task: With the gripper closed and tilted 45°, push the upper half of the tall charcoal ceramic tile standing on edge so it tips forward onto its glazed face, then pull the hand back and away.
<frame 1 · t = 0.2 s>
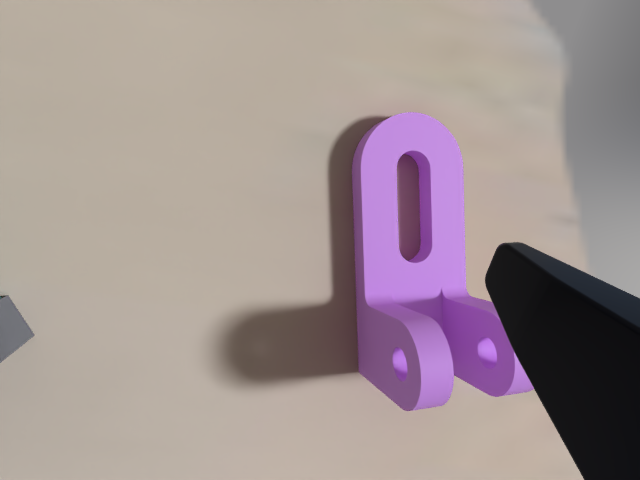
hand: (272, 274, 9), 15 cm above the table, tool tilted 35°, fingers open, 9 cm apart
bracket: (401, 242, 26), on the table
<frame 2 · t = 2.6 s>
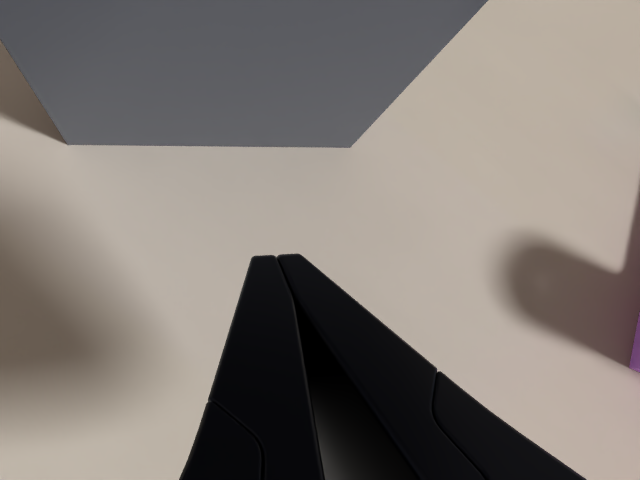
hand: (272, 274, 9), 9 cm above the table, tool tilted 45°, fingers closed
tile: (218, 120, 18), on the table
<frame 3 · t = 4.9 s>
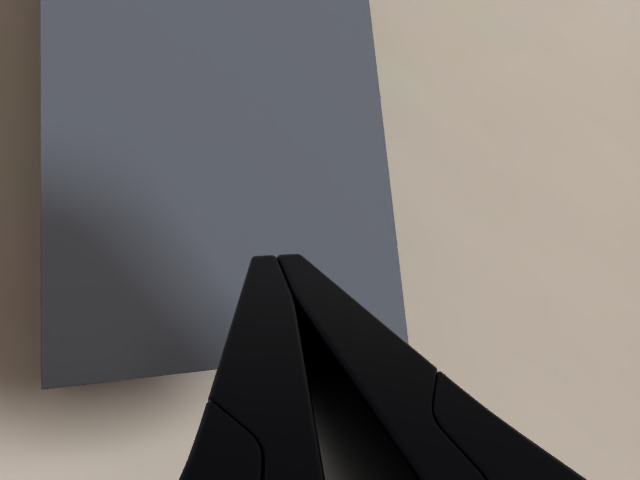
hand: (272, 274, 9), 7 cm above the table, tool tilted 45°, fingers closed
tile: (239, 363, 14), point 1 cm above the table, tilted 90°
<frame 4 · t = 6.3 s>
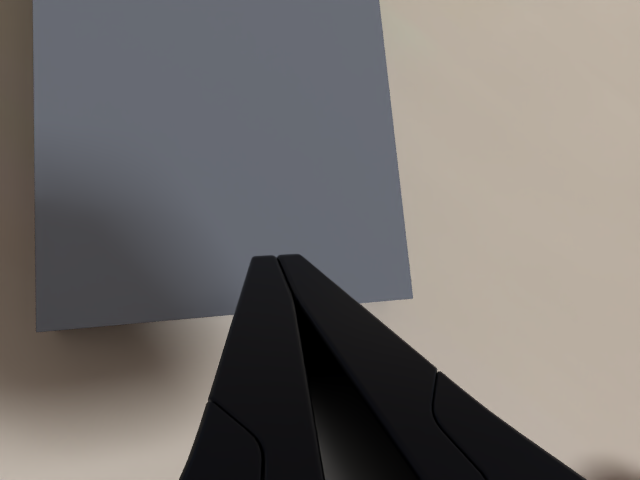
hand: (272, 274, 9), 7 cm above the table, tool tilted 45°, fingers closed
tile: (240, 313, 14), point 1 cm above the table, tilted 90°
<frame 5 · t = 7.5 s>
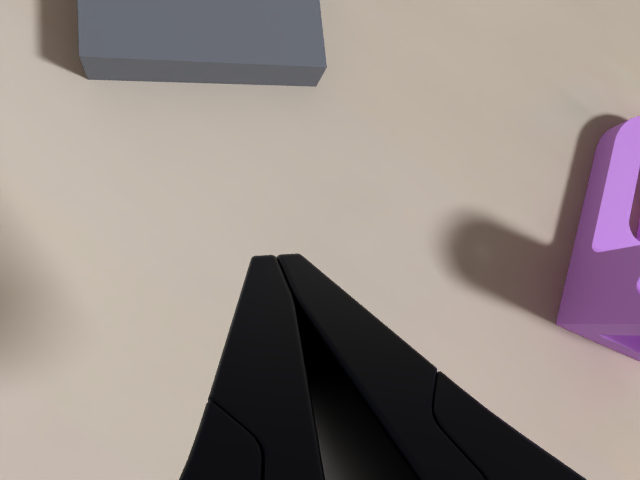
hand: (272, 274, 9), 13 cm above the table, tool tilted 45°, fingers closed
tile: (210, 74, 21), point 1 cm above the table, tilted 90°
bracket: (617, 231, 27), on the table
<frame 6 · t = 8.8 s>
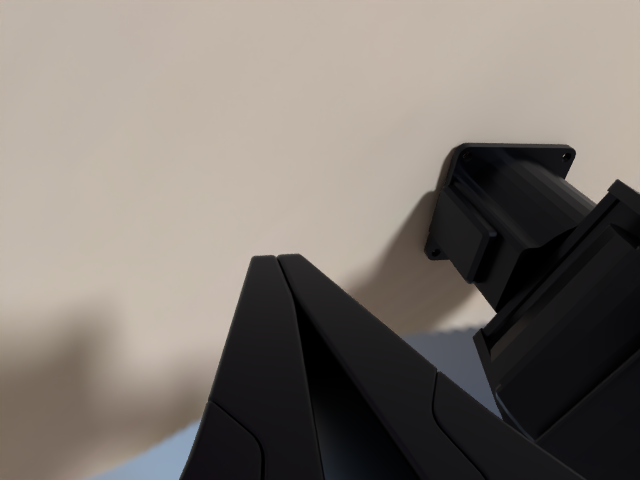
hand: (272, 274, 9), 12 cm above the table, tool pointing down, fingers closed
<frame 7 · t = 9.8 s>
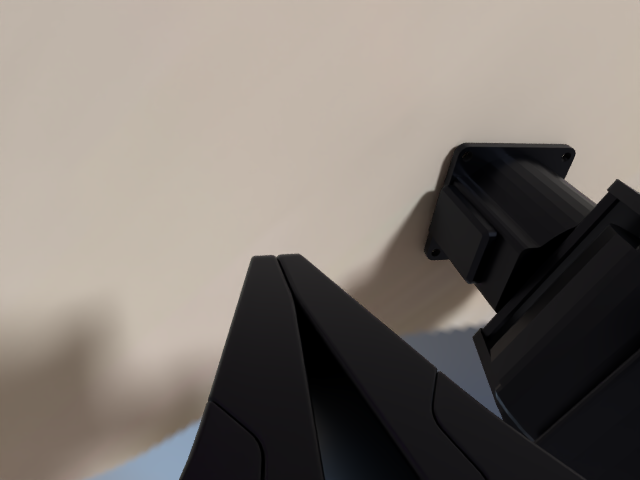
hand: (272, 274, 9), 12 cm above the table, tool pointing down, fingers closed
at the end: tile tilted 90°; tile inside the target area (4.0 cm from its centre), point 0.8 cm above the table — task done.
